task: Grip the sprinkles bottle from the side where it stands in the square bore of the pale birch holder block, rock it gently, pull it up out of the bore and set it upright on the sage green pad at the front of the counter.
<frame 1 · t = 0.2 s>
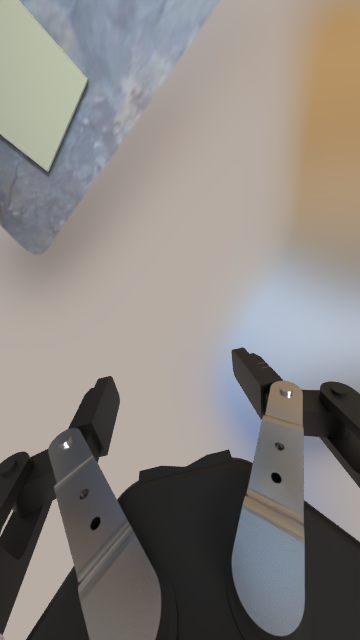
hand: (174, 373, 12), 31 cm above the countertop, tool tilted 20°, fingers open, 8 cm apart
green pad: (14, 80, 22), on the countertop
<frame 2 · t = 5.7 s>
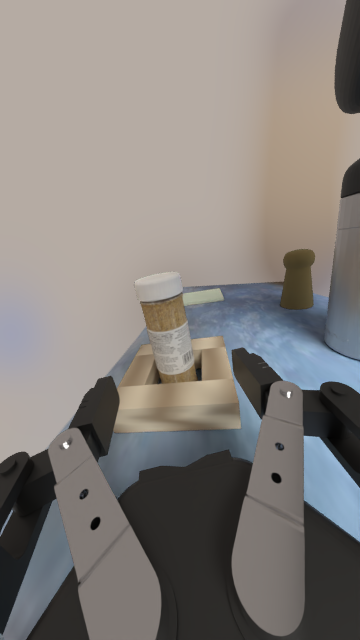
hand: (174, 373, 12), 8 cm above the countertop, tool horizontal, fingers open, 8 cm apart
cork: (296, 305, 40), on the countertop
holder block: (180, 385, 23), on the countertop
sprinkles bottle: (180, 387, 23), resting in holder block
green pad: (201, 297, 58), on the countertop
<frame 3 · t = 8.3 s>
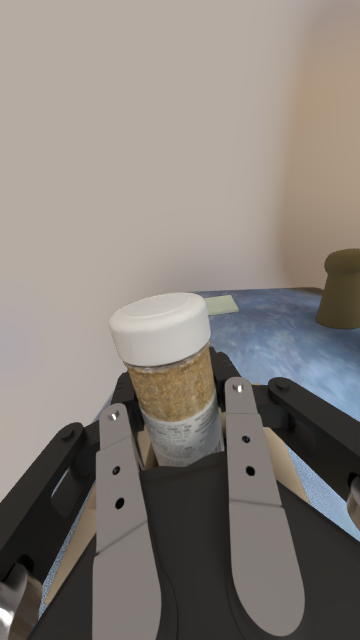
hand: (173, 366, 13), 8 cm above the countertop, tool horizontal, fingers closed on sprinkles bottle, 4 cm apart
cork: (338, 322, 31), on the countertop
holder block: (197, 479, 14), on the countertop
sprinkles bottle: (197, 481, 14), resting in holder block, touching gripper
green pad: (210, 306, 48), on the countertop
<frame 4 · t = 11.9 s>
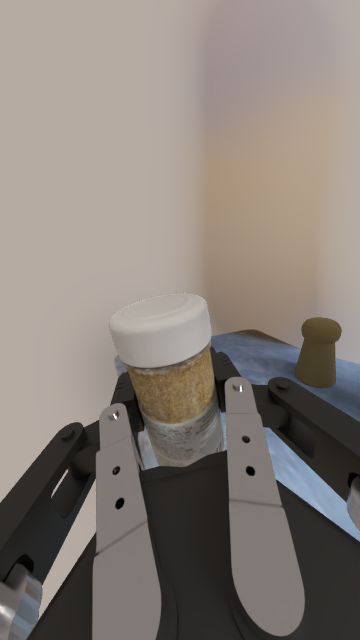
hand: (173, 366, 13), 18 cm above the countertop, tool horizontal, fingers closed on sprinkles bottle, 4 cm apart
cork: (314, 376, 34), on the countertop
sprinkles bottle: (198, 483, 14), point 10 cm above the countertop, touching gripper
when the fingers open (9 cm above the countertop, at t = 15.5 s): sprinkles bottle stays where it is, resting on green pad.
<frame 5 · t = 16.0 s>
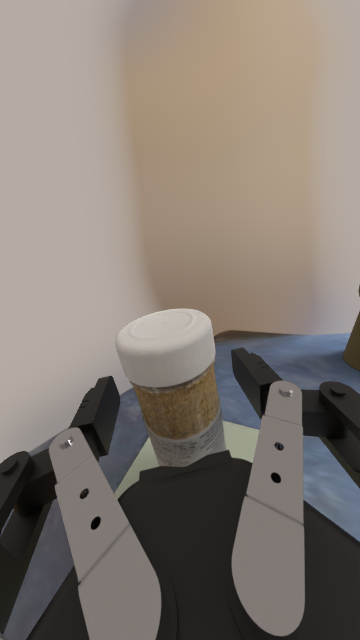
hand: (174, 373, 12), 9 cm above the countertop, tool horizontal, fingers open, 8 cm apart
sprinkles bottle: (201, 492, 14), resting on green pad
green pad: (200, 492, 14), on the countertop
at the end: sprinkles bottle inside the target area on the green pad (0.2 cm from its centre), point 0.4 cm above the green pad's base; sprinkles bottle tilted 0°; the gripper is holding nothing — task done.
